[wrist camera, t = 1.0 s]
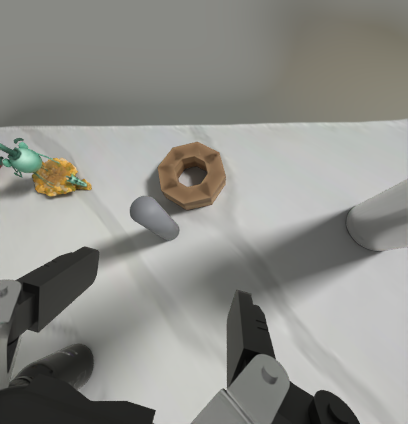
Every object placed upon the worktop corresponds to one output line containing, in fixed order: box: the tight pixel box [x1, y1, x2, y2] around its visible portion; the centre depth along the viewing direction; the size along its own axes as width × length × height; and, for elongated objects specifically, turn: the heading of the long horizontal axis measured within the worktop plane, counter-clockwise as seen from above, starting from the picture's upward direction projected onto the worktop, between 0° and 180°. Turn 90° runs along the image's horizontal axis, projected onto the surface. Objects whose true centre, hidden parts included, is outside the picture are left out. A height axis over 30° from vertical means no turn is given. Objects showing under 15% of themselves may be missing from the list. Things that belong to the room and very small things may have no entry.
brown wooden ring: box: [158, 142, 226, 210], centre depth 42 cm, size 13×13×4 cm
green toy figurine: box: [0, 138, 92, 196], centre depth 41 cm, size 10×18×15 cm, turn 58°
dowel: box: [130, 196, 179, 240], centre depth 34 cm, size 4×4×14 cm
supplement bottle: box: [8, 344, 94, 390], centre depth 29 cm, size 7×7×12 cm
